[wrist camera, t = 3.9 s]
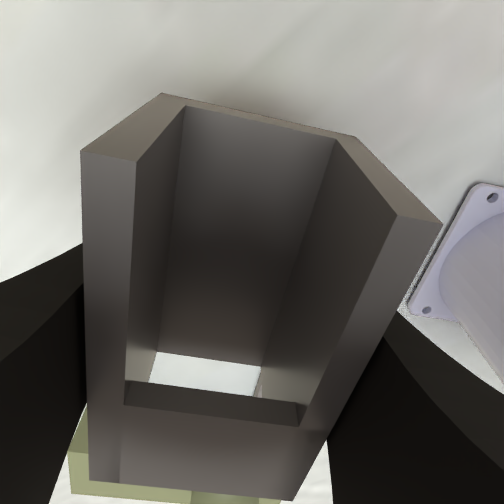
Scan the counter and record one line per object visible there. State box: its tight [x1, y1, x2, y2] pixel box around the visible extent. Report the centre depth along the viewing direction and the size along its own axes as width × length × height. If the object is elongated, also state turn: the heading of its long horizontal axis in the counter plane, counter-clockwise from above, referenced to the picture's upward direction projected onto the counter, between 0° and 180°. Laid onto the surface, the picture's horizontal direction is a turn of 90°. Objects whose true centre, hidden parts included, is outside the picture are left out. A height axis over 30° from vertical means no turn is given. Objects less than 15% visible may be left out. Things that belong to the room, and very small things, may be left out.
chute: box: [80, 93, 443, 501], centre depth 9 cm, size 8×5×5 cm, turn 168°
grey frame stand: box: [67, 373, 281, 504], centre depth 22 cm, size 14×17×5 cm
